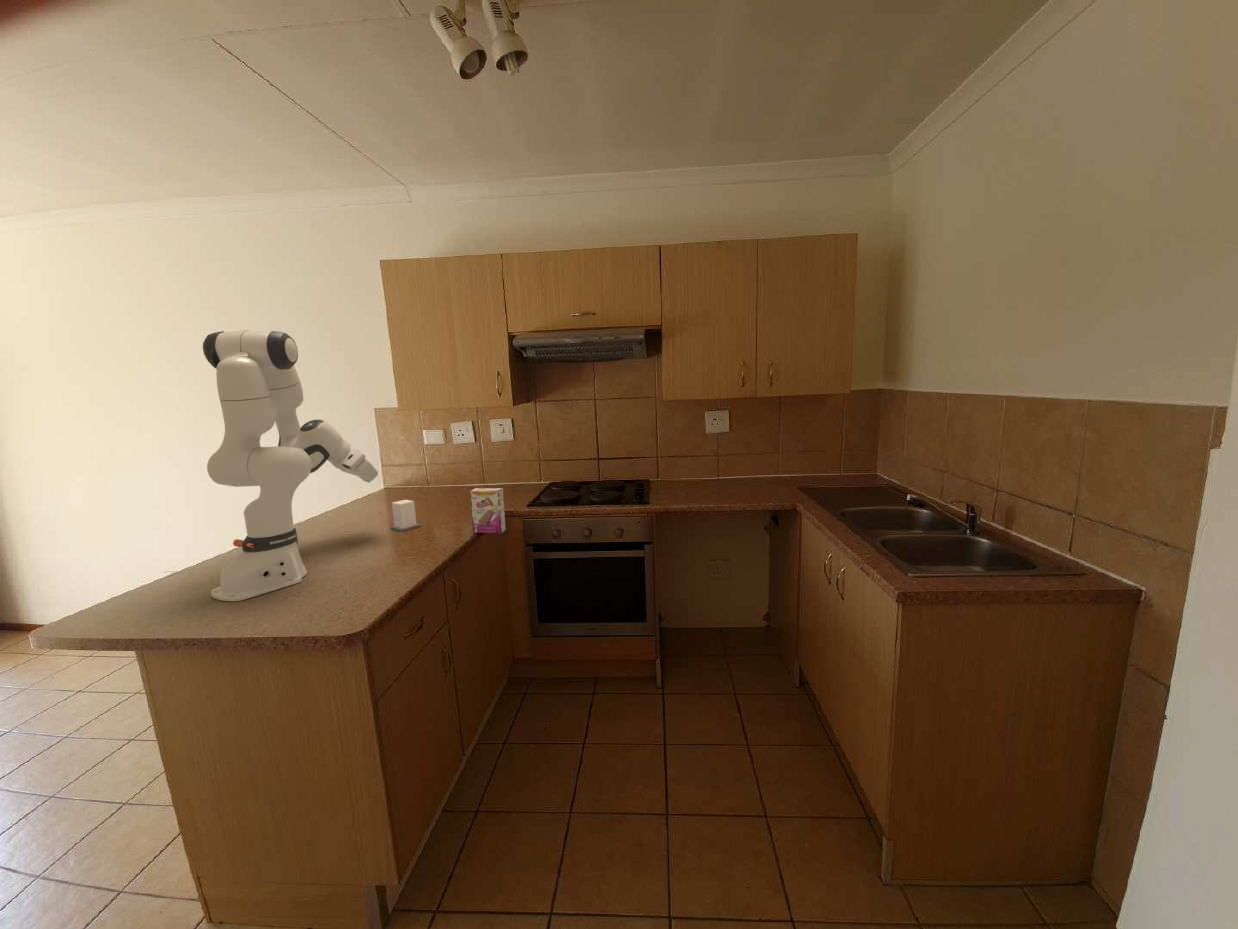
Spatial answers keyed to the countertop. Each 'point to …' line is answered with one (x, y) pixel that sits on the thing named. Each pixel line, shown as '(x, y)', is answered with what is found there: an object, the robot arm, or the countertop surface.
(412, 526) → the post
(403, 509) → the white tissue box
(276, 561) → the robot arm
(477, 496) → the candy bar box
